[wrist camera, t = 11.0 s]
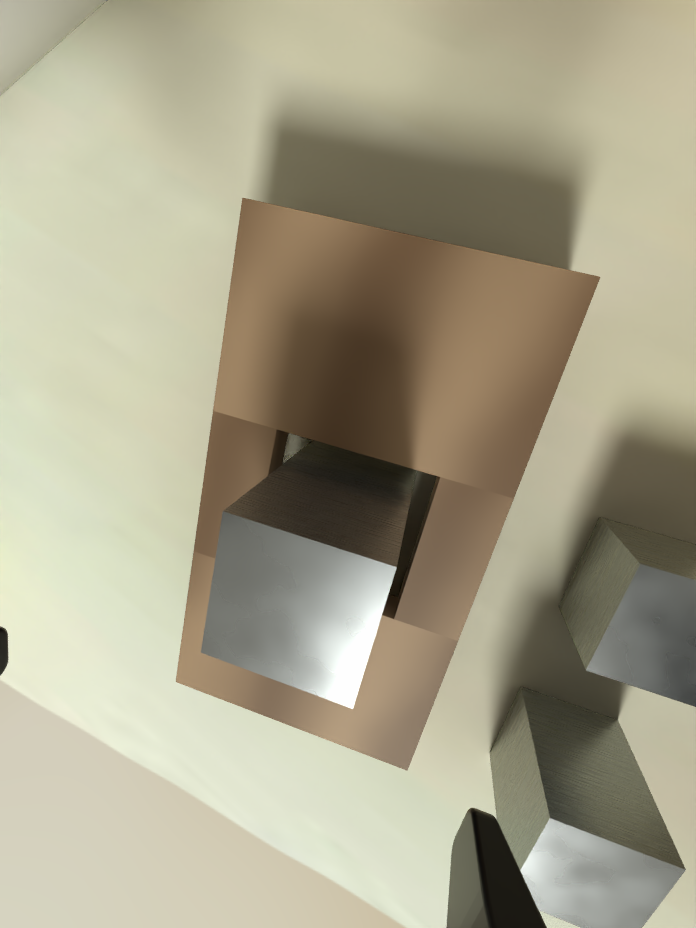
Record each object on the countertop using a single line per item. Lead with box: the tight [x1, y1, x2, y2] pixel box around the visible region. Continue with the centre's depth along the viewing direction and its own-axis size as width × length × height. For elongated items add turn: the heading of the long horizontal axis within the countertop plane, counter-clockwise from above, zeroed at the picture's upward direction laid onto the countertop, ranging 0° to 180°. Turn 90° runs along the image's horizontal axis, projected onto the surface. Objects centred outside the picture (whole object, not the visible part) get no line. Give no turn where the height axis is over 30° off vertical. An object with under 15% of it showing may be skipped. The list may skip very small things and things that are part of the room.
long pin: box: [201, 440, 417, 709], centre depth 15 cm, size 4×4×9 cm
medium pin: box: [490, 687, 686, 928], centre depth 18 cm, size 4×4×6 cm
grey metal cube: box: [559, 517, 696, 707], centre depth 16 cm, size 4×4×4 cm
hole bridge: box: [176, 198, 600, 770], centre depth 18 cm, size 11×20×4 cm, turn 166°
